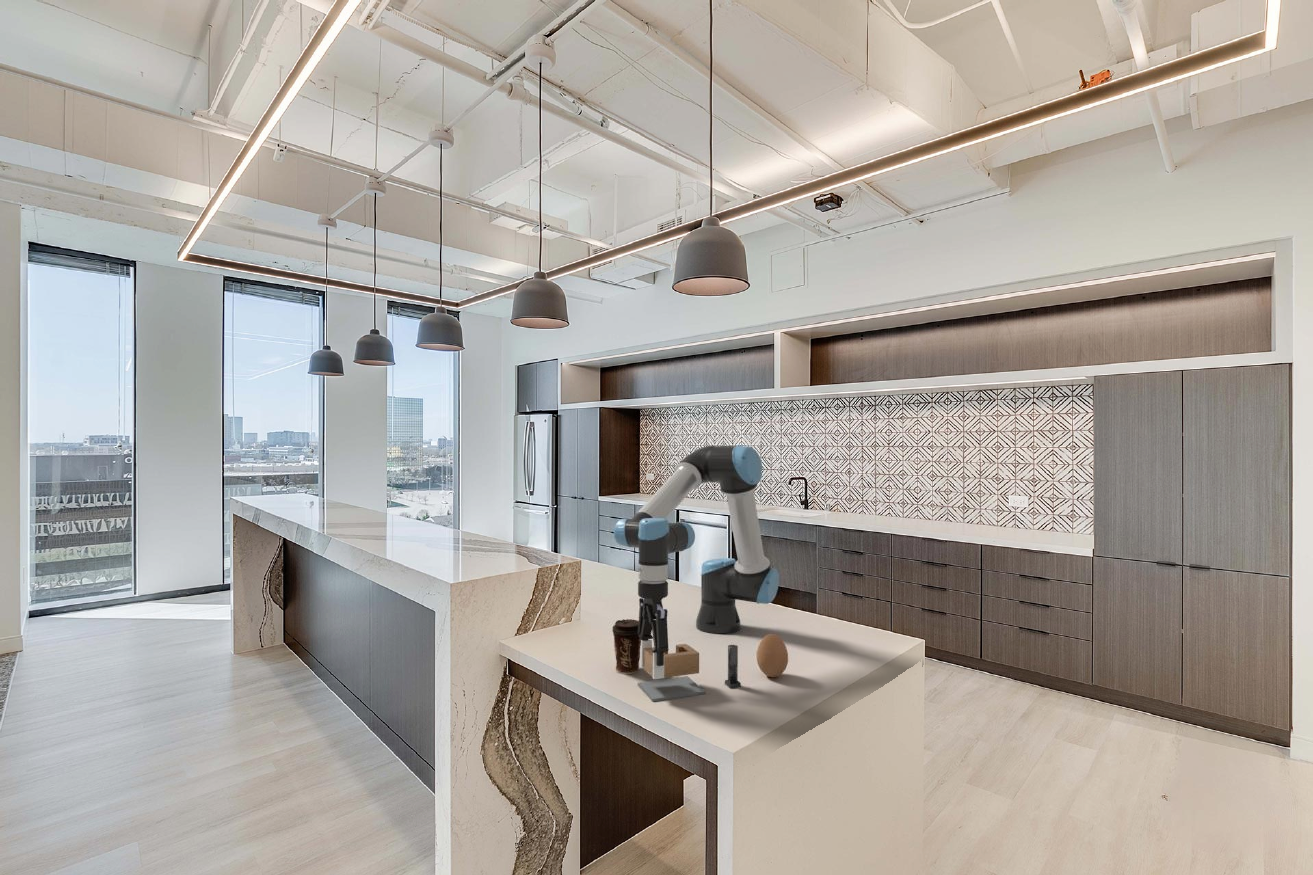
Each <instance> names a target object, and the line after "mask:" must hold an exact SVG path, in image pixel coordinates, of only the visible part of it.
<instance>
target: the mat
mask: <svg viewBox="0 0 1313 875" xmlns="http://www.w3.org/2000/svg"><path fill="white" fill-rule="evenodd" d="M637 686H638V687H639V688H640V690H641V691H642V692H643V693H644V694H645V695H646V696H647V697H648V698H649V700H651V702H659V701H666V700H672V699H679V698H687V697H693V696H694V697H695V696H699V695H705V694H706V690H704V689H703V688H702V687H701V686H700V685H698V683H696V682H695V681H694V680H693V679H691V677H689V675H683V676H676V677H669V678H661V679H654V680H650V681H642V682H637Z"/></svg>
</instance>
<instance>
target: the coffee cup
mask: <svg viewBox="0 0 1313 875" xmlns="http://www.w3.org/2000/svg"><path fill="white" fill-rule="evenodd" d="M638 622H639V620H637V619H631V618H630V619H629V618H628V619H619V620H616V621H615V623H614V624H613V625H612V633H613V639H614V641H613V643H614V644H613V646H614V653H615V654H614V655H615V660H616V665H615V671H616V673H619V674H622V675H623V674H624V675H631V674H636V673H637V672H638V671H639V669H640V660H641V641H642V640H641V639H640V636H639V635H638Z"/></svg>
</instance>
